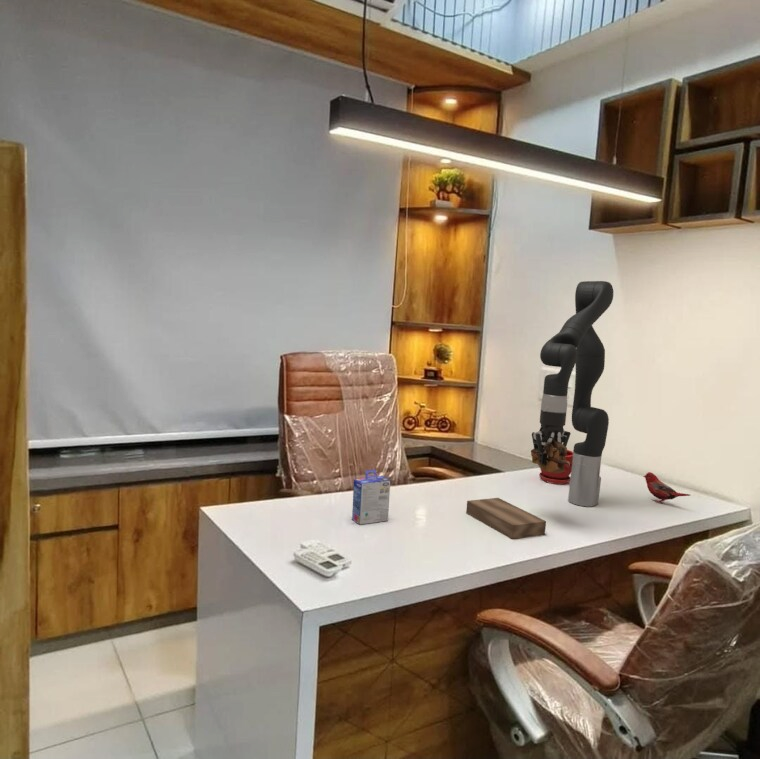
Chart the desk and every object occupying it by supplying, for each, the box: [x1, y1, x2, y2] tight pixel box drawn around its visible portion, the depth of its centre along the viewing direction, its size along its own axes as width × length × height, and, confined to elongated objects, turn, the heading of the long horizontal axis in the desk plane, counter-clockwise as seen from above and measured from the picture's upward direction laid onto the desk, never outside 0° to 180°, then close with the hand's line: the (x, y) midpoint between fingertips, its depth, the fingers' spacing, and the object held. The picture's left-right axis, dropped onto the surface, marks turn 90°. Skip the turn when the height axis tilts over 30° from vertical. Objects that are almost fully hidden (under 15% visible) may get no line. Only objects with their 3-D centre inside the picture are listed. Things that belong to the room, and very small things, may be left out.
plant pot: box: [538, 449, 573, 485], centre depth 231 cm, size 13×13×12 cm
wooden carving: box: [530, 441, 570, 473], centre depth 182 cm, size 16×5×10 cm, turn 25°
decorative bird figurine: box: [642, 472, 691, 505], centre depth 210 cm, size 3×18×10 cm, turn 34°
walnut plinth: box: [465, 497, 547, 540], centre depth 179 cm, size 12×22×4 cm, turn 27°
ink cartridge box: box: [351, 469, 391, 525], centre depth 173 cm, size 10×6×14 cm, turn 121°
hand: (548, 464), depth 183 cm, fingers closed on wooden carving, 4 cm apart
